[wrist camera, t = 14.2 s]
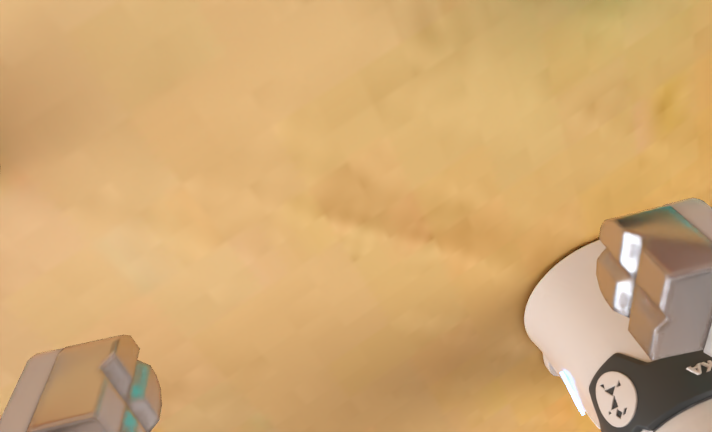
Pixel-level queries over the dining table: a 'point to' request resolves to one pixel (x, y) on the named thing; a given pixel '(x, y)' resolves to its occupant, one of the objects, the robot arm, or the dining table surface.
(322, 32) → the dining table surface
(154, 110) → the dining table surface
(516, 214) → the dining table surface
